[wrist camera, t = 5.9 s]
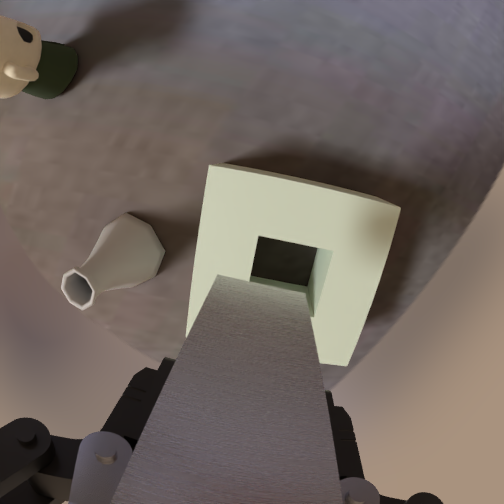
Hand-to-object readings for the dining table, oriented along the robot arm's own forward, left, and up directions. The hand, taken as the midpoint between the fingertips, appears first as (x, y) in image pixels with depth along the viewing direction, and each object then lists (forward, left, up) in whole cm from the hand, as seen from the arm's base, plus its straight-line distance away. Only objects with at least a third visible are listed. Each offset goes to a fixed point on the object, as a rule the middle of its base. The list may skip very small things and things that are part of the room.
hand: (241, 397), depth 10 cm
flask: (+4, -13, -20) cm, 24 cm away
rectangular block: (0, 0, -5) cm, 5 cm away
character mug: (-14, -25, -20) cm, 35 cm away
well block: (+1, +2, -20) cm, 20 cm away
